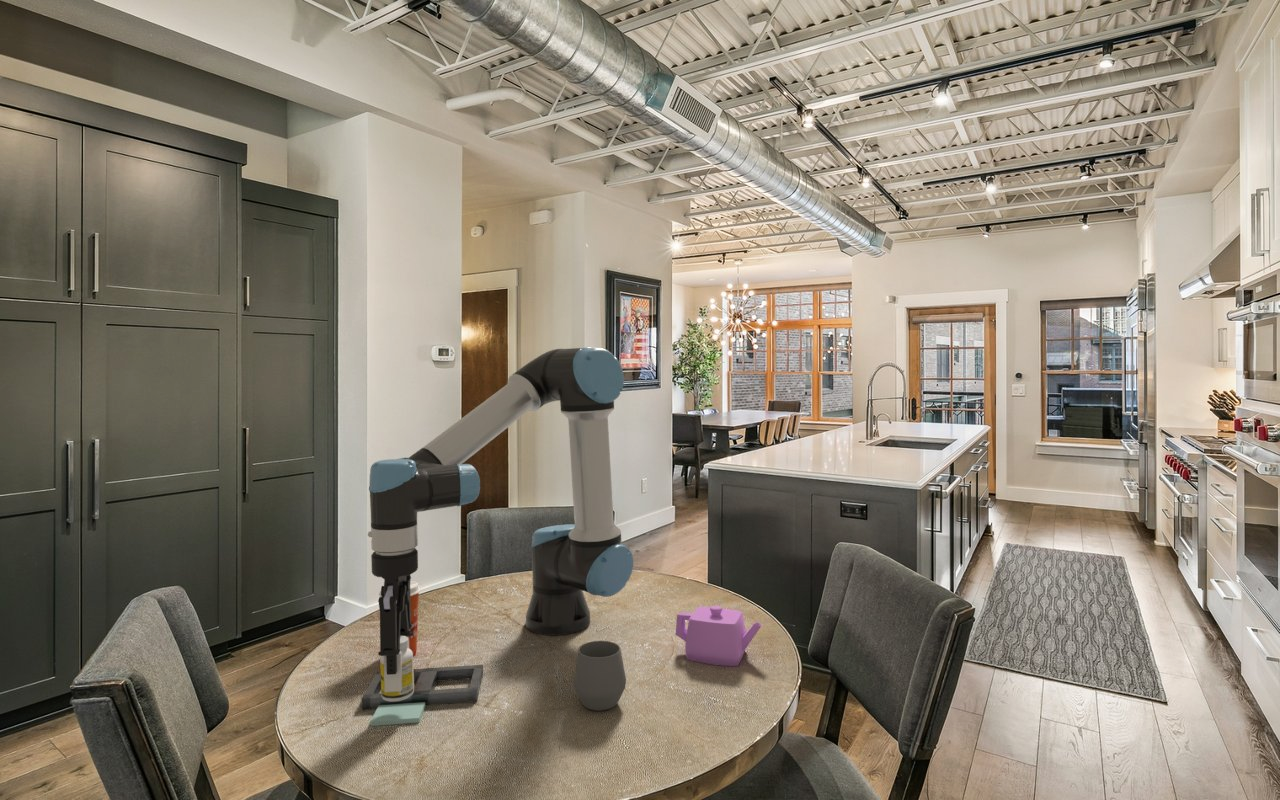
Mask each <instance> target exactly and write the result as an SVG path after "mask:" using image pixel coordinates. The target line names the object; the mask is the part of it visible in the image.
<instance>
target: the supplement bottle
mask: <svg viewBox="0 0 1280 800" xmlns="http://www.w3.org/2000/svg"><path fill="white" fill-rule="evenodd" d="M400 651H402V691H395V692H385V683H384V656H381V655H380V659H379V665H380V667H379V669H380V670H379V671H381V691H380V694H381V696H382V698H383V699H384V700H385V701H390V702H395V701H401V700H404V699H407V698H409V697H410V696H411V695H412V694H413V693H414V687H415V683H414V669H415V668H414V657H413V652H412V651H411V650H410V649H409V648H408V637H406V636H400Z"/></svg>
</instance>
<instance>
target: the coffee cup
mask: <svg viewBox="0 0 1280 800" xmlns="http://www.w3.org/2000/svg"><path fill="white" fill-rule="evenodd" d="M382 586H384V584H383V585H382ZM420 592H421V587H420V586H419V583H418V582H417V581H415V580H410V600H411V624H412V626H411V629H409V630H414V634H413V636H406V637H409V649H410V650H411V651H412V652H413V658H414V657H415V656H416V655H417V647H418V627H419V626H418V624H419V623H418V622H419V621H418V620H419V593H420ZM378 596H379V597H382V596H381V590H380V591H379V593H378Z"/></svg>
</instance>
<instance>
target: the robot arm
mask: <svg viewBox="0 0 1280 800" xmlns="http://www.w3.org/2000/svg"><path fill="white" fill-rule="evenodd" d="M624 376H625V375H624V370H623V368H622V366H621V363H620V361H619V359H618V358H617V357H615V355H614V354H613V353H612V352H610V351H609V350H608V349H604V348H602V347H601V348H600V347H590V346H587V347H575V348H556V349H552V350H549V351H546V352H544V353H542V354H540V355H539V356H537V357H536V358H533V359H532V360H530V361H529V362H527V364H525V365H523V366H522V367H521V368H519V369H518V370H516V371H515V372H514V373H512V374H511V375H510V376H509V377H508V379H507V384H505V385H504V386H503V387H502V388H500V389H498V391H496V392H495V393H493V394H492V395H491V396H489V397H488V398H487V399H485V400H484V401H483V402H482V403H480V404H479V405H478V406H476V407H474V408H473V409H472V410H470V412H468V413H467V414H466V415H464V416H463V417H462V418H460V419H458V421H456V422H455V423H453V424H452V425H451V426H449V427H448V428H447V429H445V430H444V431H443V432H441V433H440V434H439V435H437V436H436V437H435V438H433V439H432V440H431V441H430V442H428V443H427V444H425V445H424V446H423V447H421V448H420V449H418V450H417V451H416V452H415V453H413V454H411V455H410V456H409V457H402V458H394V459H390V458H387V459H382V460H377V461H374V463H372V464H371V466H370V470H369V471H370V472H369V486H368V491H369V499H370V501H369V503H370V504H369V505H370V531H368V532H367V537H369V538H371V540H370V541H371V542H370V543H371V550H372V551H374V552H372V554H371V556H370V557H371V558H370V559H371V573H372V575H373V576H374V577H377V578H382V579H383V580H384V582H383V585H384V586H383V585H382V586H381V588H380V591H381V596H382V597H380V596H379V598H378V607H379V609H378V610H379V645H380V646H379V648H380V649H379V651H378V653H377V655H378V656H380V657H381V656H384V683H385V692H395V691H402V651H400V636H413V634H414V630H409V629H411V626H412V624H411V600H410V581H411V579H412V576H411V575H412V574H414V573H415V572H417V571H418V569H419V557H418V556H419V551H418V550H417V547H418V546H419V539H418V537H419V534H418V533H419V532H418V513H419V512H426V511H432V510H439V509H444V508H451V507H460V506H464V505H468V504H471V503H473V502H475V501H476V500H477V498H478V497H479V495H480V490H481V480H480V479H481V478H480V475H479V472H478V471H477V469H476V467H474V466H473V465H472V464H470V463H465V462H466V461H468V459H470V458H471V457H473V456H475V454H476V453H477V452H479V451H480V450H481V449H483V448H484V447H485V446H486V445H488V444H489V443H490V442H491V441H493V440H494V439H495V438H496V437H497V436H499V435H500V434H501V433H503V432H504V431H505V430H506V429H508V428H509V427H510V426H511V425H513V424H514V423H516V422H517V421H518V420H519V419H521V418H522V417H523V416H524V415H526V414H527V413H528V412H536V411H538V410H539V409H540V408H542V407H543V406H544V405H548V404H549V403H552V402H553V403H554V402H557V401H559V404H560V413H562V415H564V416H565V417H566V418H567V420H568V436H569V449H570V450H569V451H570V467H571V468H570V470H571V482H572V483H571V484H572V499H573V518H574V524H573V523H569V524H557V525H556V524H555V525H551V526H545V527H542V528H537V529H536V530H535V531H534V532H533V533H532V538H531V539H532V541H531V547H530V548H531V561H532V562H531V567H532V568H531V569H532V595H531V597H530V601H529V604H528V607H527V610H526V614H525V627H526V629H527V630H529V631H530V632H533V633H534V634H537V635H538V634H540V635H544V636H563V635H564V636H565V635H569V634H573V633H577V632H580V631H582V630H585V629H586V628H588V626H589V625H590V624H591V613H590V607H589V606H588V602H587V600H586V596H585V594H584V592H586V593H588V594H590V595H593V596H600V597H604V598H606V597H608V598H609V597H613V596H614V595H617V594H619V592H621V591H622V590H623V589H624V588H625V587H626V584H627V583H628V582H629V580H630V578H631V575H632V573H633V569H634V556H633V553H632V551H631V550H630V549H629V547H627V545H624V544H623V543H622V531H621V529H620V528H619V527H618V526H617V525H616V524H615V523H614V508H613V506H614V505H613V504H614V503H613V490H612V488H613V487H612V471H611V470H612V469H611V452H610V435H609V434H610V432H609V418H608V417H609V415H610V414H611V413H612V412H613V411H614V409H615V401H616V400H617V399H618V397H620V395H621V391H622V390H623V389H624V382H625V377H624ZM408 648H409V637H408Z"/></svg>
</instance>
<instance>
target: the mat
mask: <svg viewBox="0 0 1280 800" xmlns="http://www.w3.org/2000/svg"><path fill="white" fill-rule="evenodd" d="M425 709H426V705H425V702H421V703H407V704H393V705H379V706H378V708H377V709H376V710H375V712H374V713H373V715H372V717H371V719H370V724H369V725H370V727H375V726H378V727H379V726H387V725H388V726H389V725H391V726H392V725H402V724H404V725H405V724H415V723H420V722H421V720H422V716H423V714H424V712H425Z"/></svg>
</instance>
